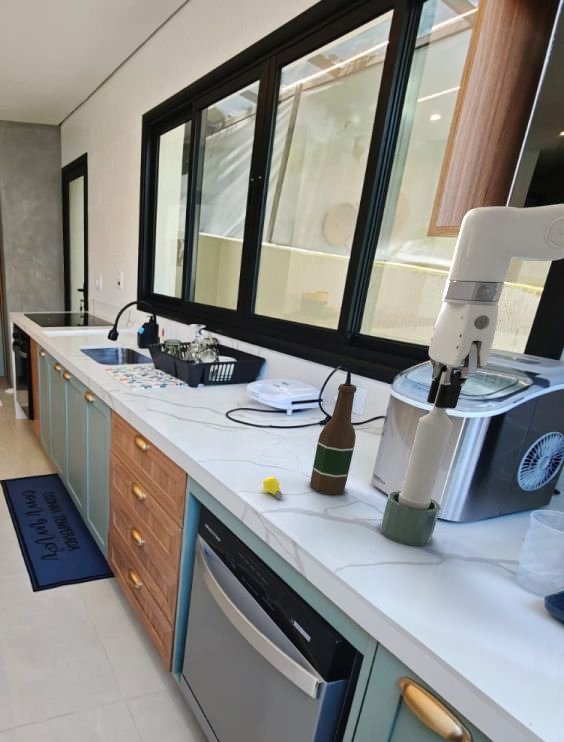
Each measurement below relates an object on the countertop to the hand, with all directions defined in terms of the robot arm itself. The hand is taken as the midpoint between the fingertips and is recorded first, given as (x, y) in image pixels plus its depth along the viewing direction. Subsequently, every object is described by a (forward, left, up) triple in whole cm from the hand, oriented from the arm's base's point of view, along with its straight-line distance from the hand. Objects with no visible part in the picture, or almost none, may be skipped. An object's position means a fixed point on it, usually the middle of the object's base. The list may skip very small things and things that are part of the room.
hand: (440, 404), depth 87 cm
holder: (0, 0, -26) cm, 26 cm away
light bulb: (+22, -14, -26) cm, 37 cm away
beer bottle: (+9, -19, -26) cm, 33 cm away
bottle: (0, 0, -20) cm, 20 cm away
